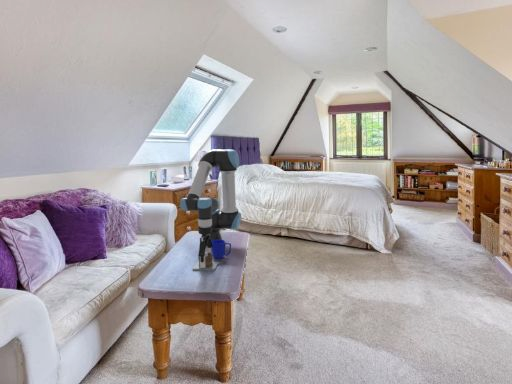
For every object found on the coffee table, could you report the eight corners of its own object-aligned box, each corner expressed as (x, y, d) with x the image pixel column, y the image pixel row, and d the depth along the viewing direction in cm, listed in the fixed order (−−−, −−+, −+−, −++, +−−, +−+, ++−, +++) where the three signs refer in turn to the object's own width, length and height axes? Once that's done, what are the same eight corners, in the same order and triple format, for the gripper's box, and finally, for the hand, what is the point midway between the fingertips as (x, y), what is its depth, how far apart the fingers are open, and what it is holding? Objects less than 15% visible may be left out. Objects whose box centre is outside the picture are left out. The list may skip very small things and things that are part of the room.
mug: (229, 260, 193) (229, 244, 191) (209, 259, 195) (209, 243, 194) (232, 255, 201) (232, 240, 199) (214, 254, 203) (213, 239, 202)
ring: (201, 262, 187) (201, 252, 186) (213, 263, 186) (213, 252, 185) (197, 267, 180) (197, 256, 179) (210, 267, 179) (210, 257, 178)
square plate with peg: (198, 262, 190) (198, 249, 188) (218, 263, 188) (218, 249, 187) (192, 270, 178) (192, 256, 177) (214, 271, 176) (213, 257, 175)
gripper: (204, 220, 192) (205, 255, 195) (191, 231, 168) (192, 271, 171) (216, 220, 191) (217, 255, 195) (206, 232, 167) (206, 271, 170)
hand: (206, 262), depth 183 cm, fingers open, 13 cm apart
